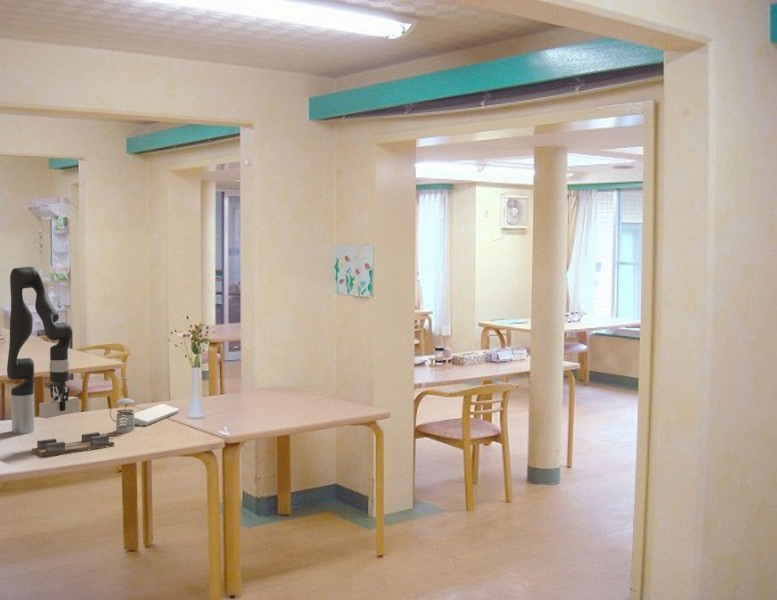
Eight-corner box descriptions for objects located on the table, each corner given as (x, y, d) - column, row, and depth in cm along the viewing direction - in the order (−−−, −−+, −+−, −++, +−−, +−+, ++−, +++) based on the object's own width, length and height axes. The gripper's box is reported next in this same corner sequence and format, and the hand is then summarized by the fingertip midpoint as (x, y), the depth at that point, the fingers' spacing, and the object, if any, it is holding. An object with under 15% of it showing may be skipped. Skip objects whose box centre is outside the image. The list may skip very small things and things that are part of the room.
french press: (136, 433, 401) (136, 378, 400) (109, 434, 398) (109, 379, 397) (136, 429, 411) (136, 375, 409) (110, 430, 408) (109, 376, 406)
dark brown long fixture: (31, 452, 363) (31, 441, 363) (100, 441, 384) (100, 431, 384) (44, 457, 355) (44, 446, 354) (114, 445, 376) (114, 435, 375)
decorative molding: (177, 418, 448) (160, 412, 450) (179, 409, 448) (162, 403, 450) (145, 431, 415) (126, 425, 417) (147, 421, 414) (128, 415, 416)
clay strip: (39, 417, 371) (39, 403, 370) (71, 410, 387) (71, 396, 387) (46, 418, 369) (46, 404, 369) (78, 411, 385) (78, 397, 385)
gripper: (43, 368, 379) (43, 408, 380) (58, 372, 369) (58, 413, 370) (60, 367, 385) (60, 406, 386) (75, 371, 374) (75, 411, 376)
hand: (59, 409), depth 378 cm, fingers closed on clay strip, 5 cm apart
